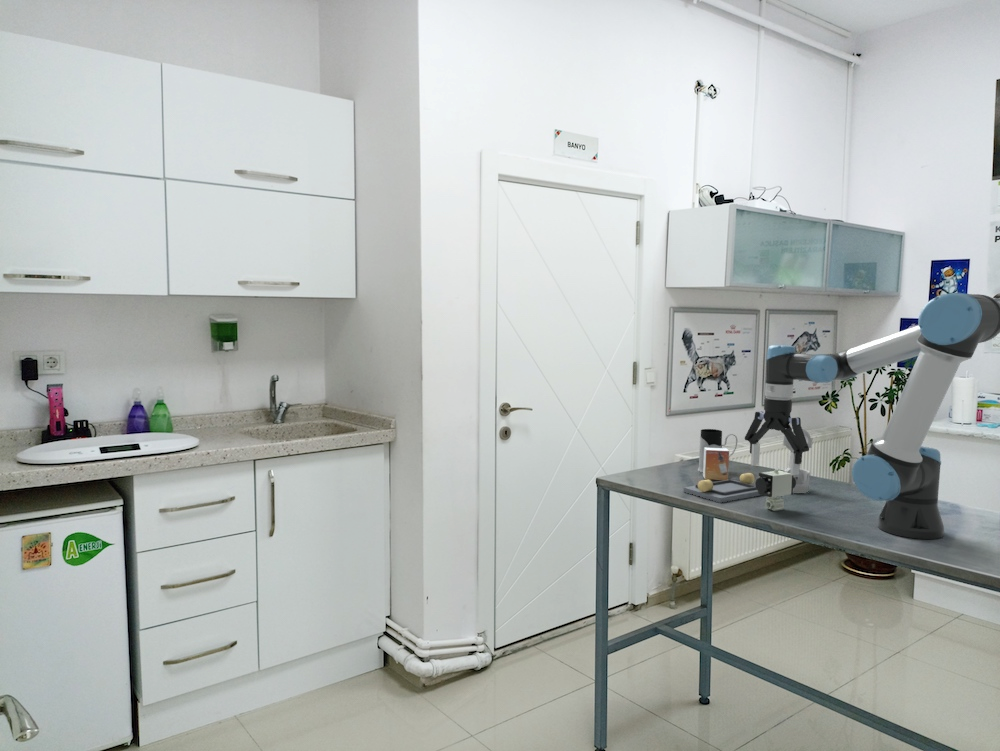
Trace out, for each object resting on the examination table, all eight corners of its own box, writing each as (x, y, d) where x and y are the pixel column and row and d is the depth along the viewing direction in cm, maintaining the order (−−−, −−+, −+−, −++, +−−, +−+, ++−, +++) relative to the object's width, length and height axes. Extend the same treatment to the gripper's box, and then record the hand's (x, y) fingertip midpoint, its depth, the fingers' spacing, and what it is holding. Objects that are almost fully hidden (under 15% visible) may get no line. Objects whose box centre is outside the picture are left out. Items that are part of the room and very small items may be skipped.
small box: (704, 479, 243) (705, 449, 242) (702, 476, 248) (703, 446, 248) (728, 480, 242) (729, 450, 241) (726, 477, 247) (727, 447, 246)
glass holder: (694, 468, 261) (695, 428, 260) (731, 468, 262) (732, 428, 261) (702, 473, 252) (703, 432, 251) (740, 473, 253) (742, 432, 252)
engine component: (770, 486, 235) (783, 493, 225) (773, 425, 233) (786, 430, 223) (802, 486, 235) (817, 493, 225) (805, 426, 233) (820, 430, 223)
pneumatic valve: (795, 509, 206) (797, 469, 205) (765, 513, 201) (767, 472, 200) (780, 504, 211) (782, 465, 210) (751, 508, 206) (753, 468, 205)
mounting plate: (731, 483, 237) (732, 468, 237) (769, 493, 224) (770, 477, 224) (683, 492, 225) (683, 475, 225) (720, 502, 212) (720, 485, 212)
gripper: (735, 393, 212) (731, 462, 214) (808, 404, 191) (803, 480, 193) (751, 392, 216) (747, 460, 218) (825, 402, 195) (820, 477, 197)
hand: (774, 469), depth 205 cm, fingers open, 13 cm apart
